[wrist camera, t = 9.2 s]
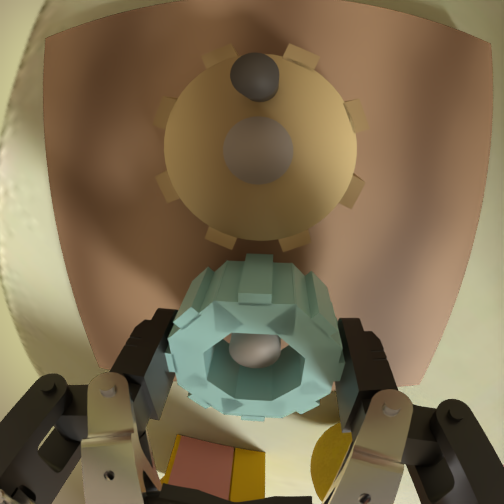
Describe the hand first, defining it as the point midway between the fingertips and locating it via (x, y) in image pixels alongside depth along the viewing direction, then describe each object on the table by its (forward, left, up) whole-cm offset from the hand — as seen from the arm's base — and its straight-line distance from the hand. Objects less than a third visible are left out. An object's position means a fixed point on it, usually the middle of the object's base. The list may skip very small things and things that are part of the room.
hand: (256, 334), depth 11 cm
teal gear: (0, 0, -1) cm, 1 cm away
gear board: (0, -3, -4) cm, 5 cm away
